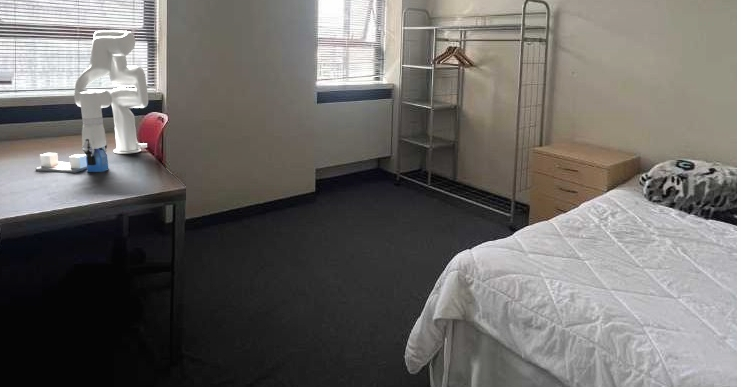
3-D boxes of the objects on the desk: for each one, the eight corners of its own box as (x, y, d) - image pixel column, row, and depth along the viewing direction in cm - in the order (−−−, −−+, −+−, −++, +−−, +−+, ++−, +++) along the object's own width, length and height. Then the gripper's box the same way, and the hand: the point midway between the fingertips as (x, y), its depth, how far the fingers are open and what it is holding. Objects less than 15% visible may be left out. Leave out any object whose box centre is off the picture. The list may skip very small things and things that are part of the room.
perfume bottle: (93, 168, 233) (90, 141, 229) (108, 168, 233) (105, 141, 230) (87, 171, 227) (84, 144, 223) (102, 172, 227) (99, 144, 224)
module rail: (92, 166, 236) (91, 153, 235) (75, 172, 225) (73, 158, 223) (55, 164, 238) (53, 151, 237) (35, 170, 227) (33, 156, 225)
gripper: (97, 118, 233) (101, 158, 238) (70, 124, 216) (76, 166, 221) (113, 119, 232) (117, 159, 237) (88, 124, 216) (93, 167, 220)
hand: (97, 162), depth 229 cm, fingers closed on perfume bottle, 7 cm apart
